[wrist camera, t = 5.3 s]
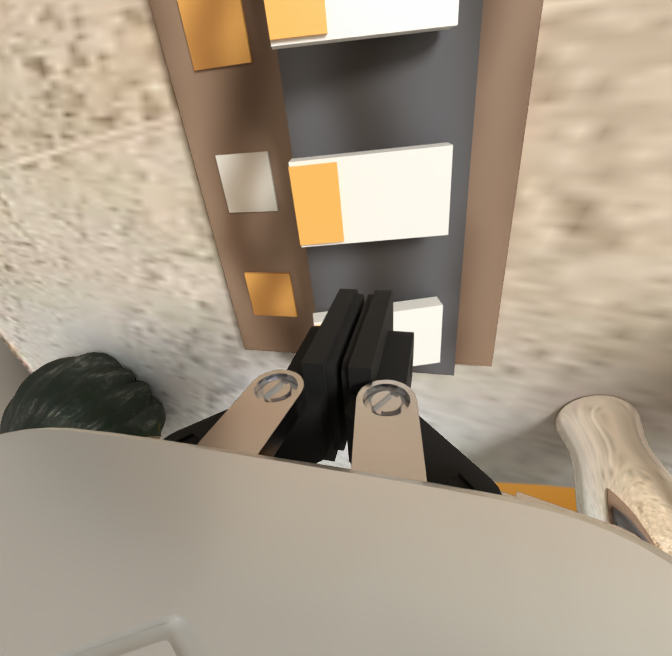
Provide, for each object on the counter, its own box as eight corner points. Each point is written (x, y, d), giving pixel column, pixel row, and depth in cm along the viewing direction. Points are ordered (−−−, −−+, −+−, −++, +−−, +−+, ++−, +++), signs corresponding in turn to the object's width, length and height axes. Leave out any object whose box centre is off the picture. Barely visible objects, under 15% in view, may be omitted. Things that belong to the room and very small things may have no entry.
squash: (140, 490, 48) (64, 549, 33) (37, 432, 48) (-87, 464, 33) (200, 392, 50) (153, 406, 35) (100, 335, 50) (10, 324, 35)
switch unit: (569, -221, 16) (620, -350, 11) (490, 357, 32) (497, 407, 27) (136, -93, 22) (46, -142, 17) (250, 342, 37) (221, 380, 33)
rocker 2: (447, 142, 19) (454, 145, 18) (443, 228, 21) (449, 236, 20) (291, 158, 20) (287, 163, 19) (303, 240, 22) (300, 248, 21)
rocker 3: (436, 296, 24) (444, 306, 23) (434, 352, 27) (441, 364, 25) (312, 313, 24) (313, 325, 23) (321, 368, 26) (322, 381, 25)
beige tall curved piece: (603, 460, 34) (686, 669, 22) (532, 428, 34) (576, 619, 22) (667, 412, 30) (812, 636, 18) (586, 377, 30) (676, 576, 18)
